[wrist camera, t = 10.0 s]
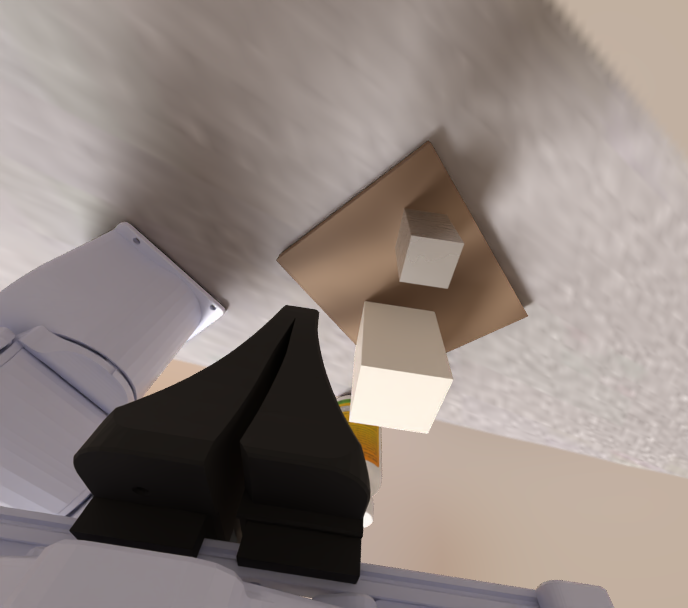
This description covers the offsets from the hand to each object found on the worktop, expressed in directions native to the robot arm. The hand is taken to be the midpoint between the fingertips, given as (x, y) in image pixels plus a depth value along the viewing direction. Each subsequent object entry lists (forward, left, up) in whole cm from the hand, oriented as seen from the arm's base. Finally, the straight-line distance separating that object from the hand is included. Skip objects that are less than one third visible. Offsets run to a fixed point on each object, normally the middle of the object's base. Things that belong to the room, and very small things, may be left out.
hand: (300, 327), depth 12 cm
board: (+6, +2, -10) cm, 12 cm away
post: (+3, +5, -9) cm, 11 cm away
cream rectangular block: (+9, -1, -9) cm, 13 cm away
